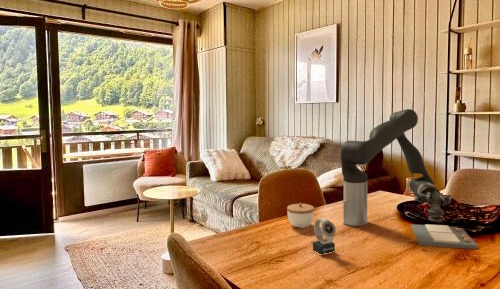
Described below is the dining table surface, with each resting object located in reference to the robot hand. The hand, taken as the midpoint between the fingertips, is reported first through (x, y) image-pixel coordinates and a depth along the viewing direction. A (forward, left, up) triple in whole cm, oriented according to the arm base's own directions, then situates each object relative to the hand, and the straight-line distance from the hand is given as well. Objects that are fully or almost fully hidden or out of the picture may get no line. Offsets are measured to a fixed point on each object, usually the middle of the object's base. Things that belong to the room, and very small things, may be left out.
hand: (437, 203), depth 134 cm
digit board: (-1, -11, -9) cm, 14 cm away
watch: (-40, -32, -9) cm, 52 cm away
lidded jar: (-51, -8, -10) cm, 52 cm away
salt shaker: (0, +3, -7) cm, 8 cm away
